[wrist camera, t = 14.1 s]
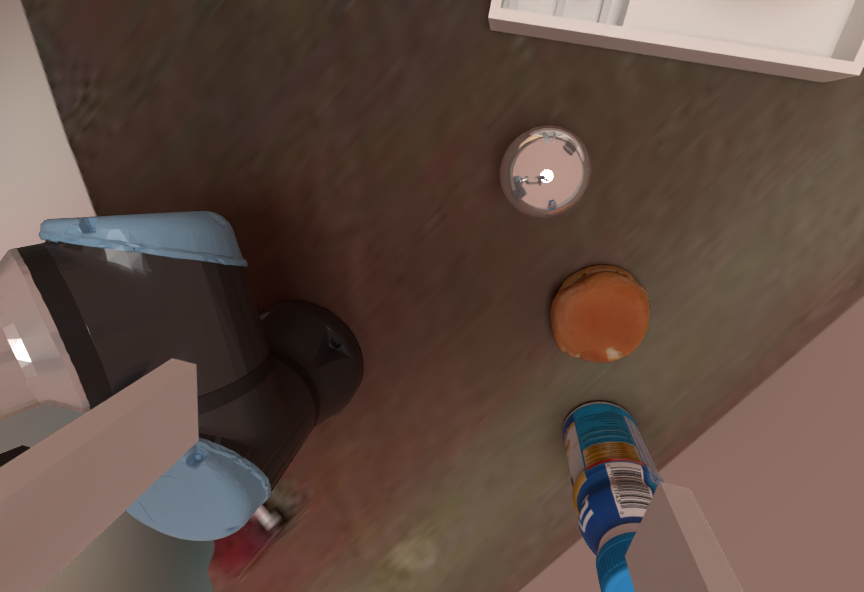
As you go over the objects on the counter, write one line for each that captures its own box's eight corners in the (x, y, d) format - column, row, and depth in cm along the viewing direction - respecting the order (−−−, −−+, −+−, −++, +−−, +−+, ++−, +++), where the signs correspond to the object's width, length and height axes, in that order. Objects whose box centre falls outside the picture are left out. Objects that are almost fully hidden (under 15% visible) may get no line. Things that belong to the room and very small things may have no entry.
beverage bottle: (654, 428, 48) (744, 604, 30) (600, 472, 52) (652, 657, 33) (596, 384, 48) (651, 536, 29) (545, 431, 51) (566, 596, 32)
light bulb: (498, 134, 41) (494, 131, 30) (574, 123, 40) (599, 115, 29) (504, 207, 43) (502, 229, 32) (576, 199, 42) (600, 219, 31)
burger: (604, 245, 43) (615, 257, 39) (662, 310, 44) (679, 329, 40) (527, 306, 46) (529, 323, 42) (583, 365, 48) (591, 387, 43)
